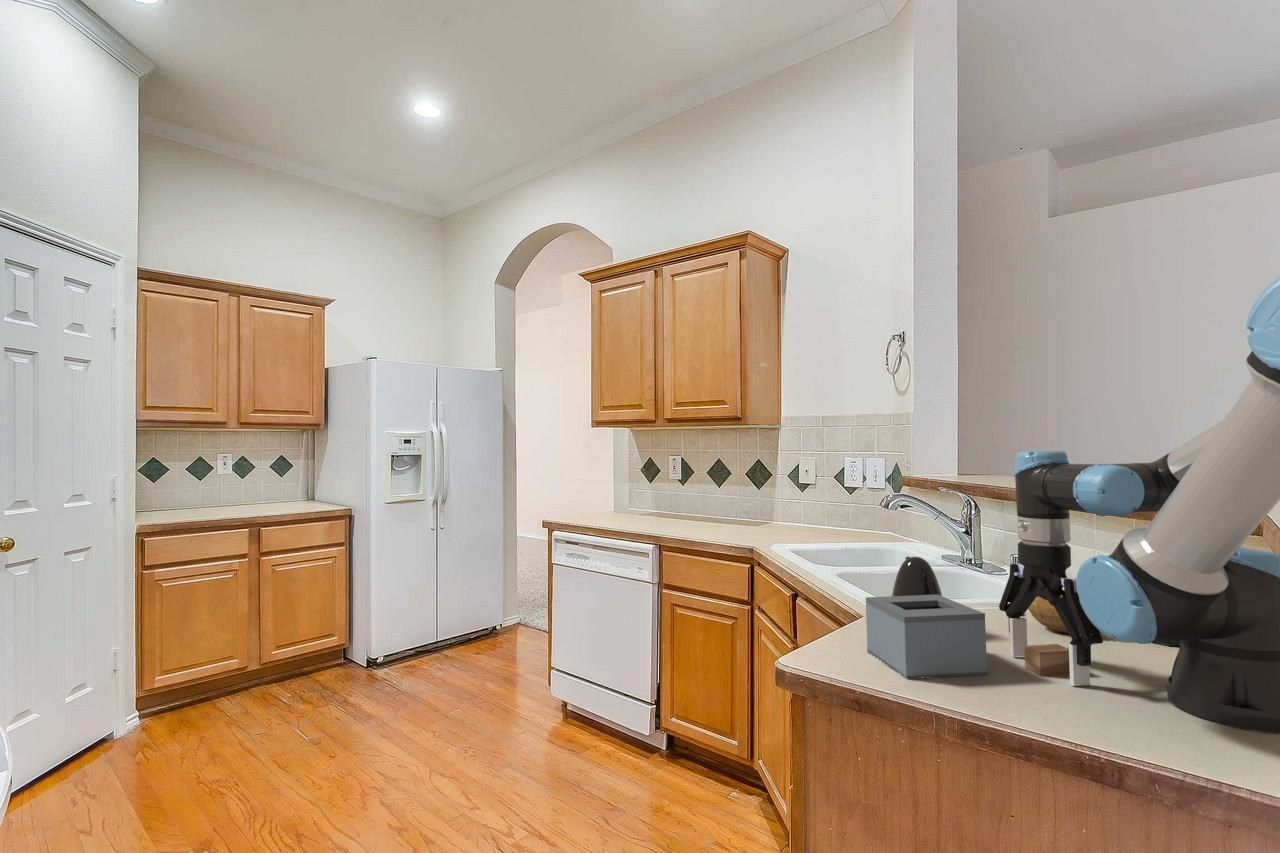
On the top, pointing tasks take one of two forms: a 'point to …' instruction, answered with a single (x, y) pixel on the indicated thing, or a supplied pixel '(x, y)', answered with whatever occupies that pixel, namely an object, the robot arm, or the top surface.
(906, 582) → the black dome cover
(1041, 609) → the potato
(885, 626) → the box
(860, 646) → the top surface
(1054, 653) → the block
